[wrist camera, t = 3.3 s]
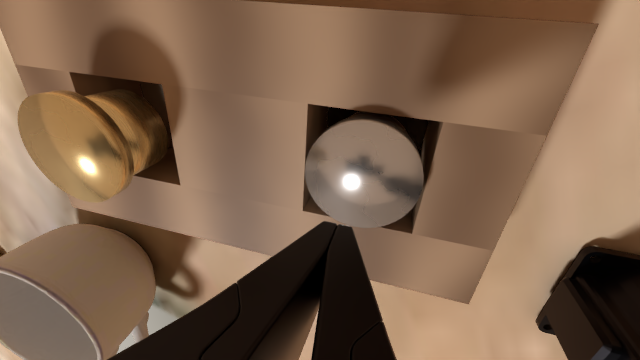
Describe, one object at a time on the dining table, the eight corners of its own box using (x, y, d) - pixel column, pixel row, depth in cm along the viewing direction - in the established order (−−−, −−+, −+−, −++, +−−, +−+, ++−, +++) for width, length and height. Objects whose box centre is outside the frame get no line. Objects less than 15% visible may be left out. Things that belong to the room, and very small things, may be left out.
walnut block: (541, 26, 12) (598, 23, 8) (456, 250, 17) (468, 304, 14) (71, -7, 16) (-18, -17, 13) (124, 179, 22) (72, 206, 19)
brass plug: (165, 86, 13) (98, 102, 10) (181, 178, 16) (130, 211, 13) (81, 75, 14) (-2, 86, 11) (108, 163, 17) (45, 191, 14)
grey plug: (430, 109, 13) (438, 131, 10) (407, 198, 15) (408, 238, 12) (328, 96, 14) (307, 113, 11) (320, 182, 16) (302, 215, 13)
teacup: (52, 216, 27) (-70, 280, 20) (130, 195, 23) (11, 266, 16) (136, 321, 32) (62, 402, 25) (212, 319, 28) (148, 415, 21)
